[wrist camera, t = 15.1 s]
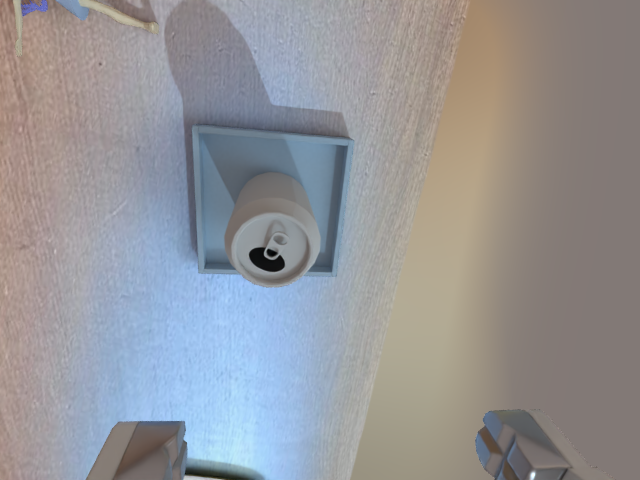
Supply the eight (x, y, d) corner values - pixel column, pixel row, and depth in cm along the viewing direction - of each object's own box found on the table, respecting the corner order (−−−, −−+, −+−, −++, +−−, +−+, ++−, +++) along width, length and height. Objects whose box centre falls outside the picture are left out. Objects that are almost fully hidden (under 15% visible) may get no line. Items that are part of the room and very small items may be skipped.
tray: (350, 137, 34) (354, 140, 32) (333, 269, 40) (336, 277, 38) (196, 124, 32) (191, 125, 30) (202, 265, 37) (198, 273, 35)
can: (226, 218, 35) (203, 272, 24) (257, 156, 33) (248, 184, 22) (288, 248, 37) (293, 310, 26) (321, 191, 35) (342, 232, 24)
